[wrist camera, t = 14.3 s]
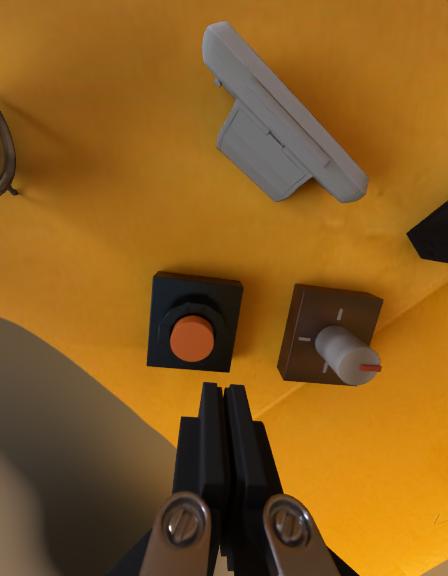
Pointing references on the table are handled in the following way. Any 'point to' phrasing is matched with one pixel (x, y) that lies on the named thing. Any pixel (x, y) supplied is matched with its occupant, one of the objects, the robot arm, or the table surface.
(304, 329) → the dial panel
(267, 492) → the robot arm
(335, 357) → the dial
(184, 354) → the button
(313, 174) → the digital clock
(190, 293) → the button box
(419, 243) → the digital camera
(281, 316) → the table surface
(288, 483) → the table surface
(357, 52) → the table surface
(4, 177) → the alarm clock
